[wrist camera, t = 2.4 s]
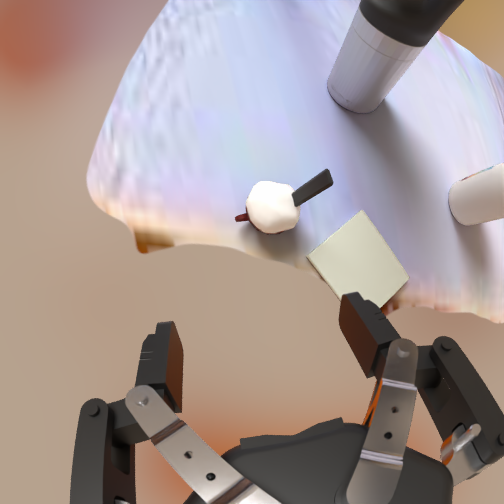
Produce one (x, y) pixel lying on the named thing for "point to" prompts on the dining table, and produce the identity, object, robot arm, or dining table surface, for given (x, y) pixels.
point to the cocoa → (280, 203)
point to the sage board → (359, 262)
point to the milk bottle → (479, 196)
